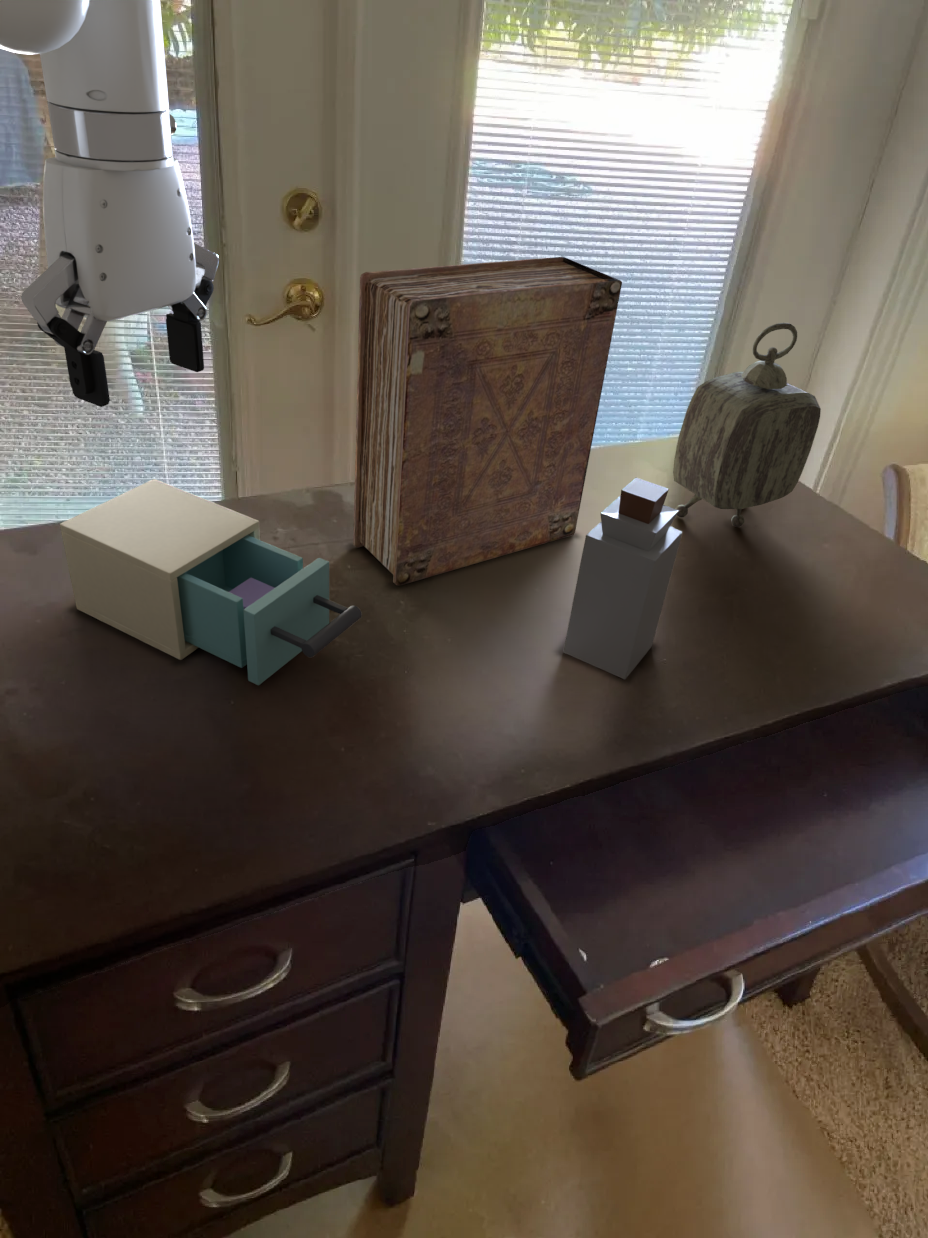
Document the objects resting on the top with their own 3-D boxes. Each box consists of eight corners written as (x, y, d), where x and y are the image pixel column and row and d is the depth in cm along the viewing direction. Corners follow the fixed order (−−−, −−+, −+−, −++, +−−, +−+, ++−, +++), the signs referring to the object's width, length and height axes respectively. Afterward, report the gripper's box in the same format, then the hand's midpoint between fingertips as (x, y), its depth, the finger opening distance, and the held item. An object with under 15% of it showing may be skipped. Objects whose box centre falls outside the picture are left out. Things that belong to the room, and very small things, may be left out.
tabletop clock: (738, 493, 120) (795, 306, 106) (789, 524, 114) (857, 331, 100) (659, 513, 113) (708, 317, 99) (709, 548, 108) (769, 344, 93)
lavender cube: (257, 647, 81) (255, 612, 79) (224, 631, 83) (221, 596, 80) (285, 626, 84) (284, 591, 82) (252, 611, 86) (250, 577, 83)
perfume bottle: (651, 646, 90) (694, 487, 80) (625, 679, 85) (666, 516, 75) (592, 621, 93) (625, 464, 82) (563, 652, 88) (594, 490, 78)
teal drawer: (371, 647, 84) (373, 579, 80) (302, 707, 77) (301, 635, 72) (230, 585, 91) (225, 518, 86) (154, 635, 83) (144, 564, 78)
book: (393, 587, 95) (407, 301, 77) (352, 546, 101) (357, 272, 83) (575, 535, 107) (623, 278, 90) (529, 501, 113) (566, 254, 96)
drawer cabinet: (263, 602, 90) (259, 520, 85) (180, 660, 82) (169, 573, 76) (164, 558, 95) (154, 478, 89) (76, 609, 87) (58, 523, 81)
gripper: (167, 120, 67) (186, 345, 77) (-43, 135, 54) (12, 401, 64) (244, 137, 64) (253, 367, 74) (42, 156, 52) (86, 431, 61)
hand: (141, 383), depth 69 cm, fingers open, 9 cm apart
